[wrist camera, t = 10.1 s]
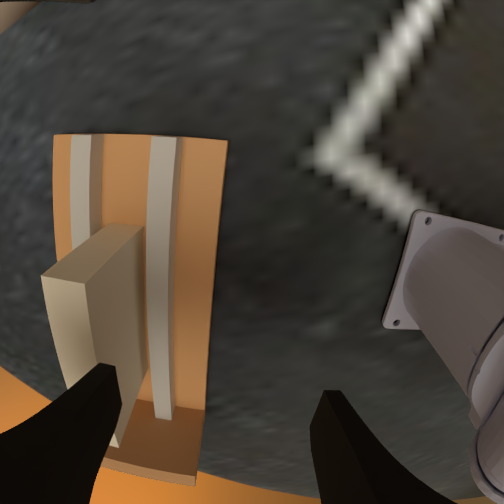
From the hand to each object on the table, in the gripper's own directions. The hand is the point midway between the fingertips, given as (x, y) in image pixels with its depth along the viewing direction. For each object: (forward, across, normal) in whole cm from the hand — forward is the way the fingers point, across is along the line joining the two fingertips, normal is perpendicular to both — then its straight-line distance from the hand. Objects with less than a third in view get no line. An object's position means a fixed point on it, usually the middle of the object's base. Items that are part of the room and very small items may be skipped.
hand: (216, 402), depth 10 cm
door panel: (+8, +6, +2) cm, 10 cm away
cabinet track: (+9, +6, +2) cm, 11 cm away
